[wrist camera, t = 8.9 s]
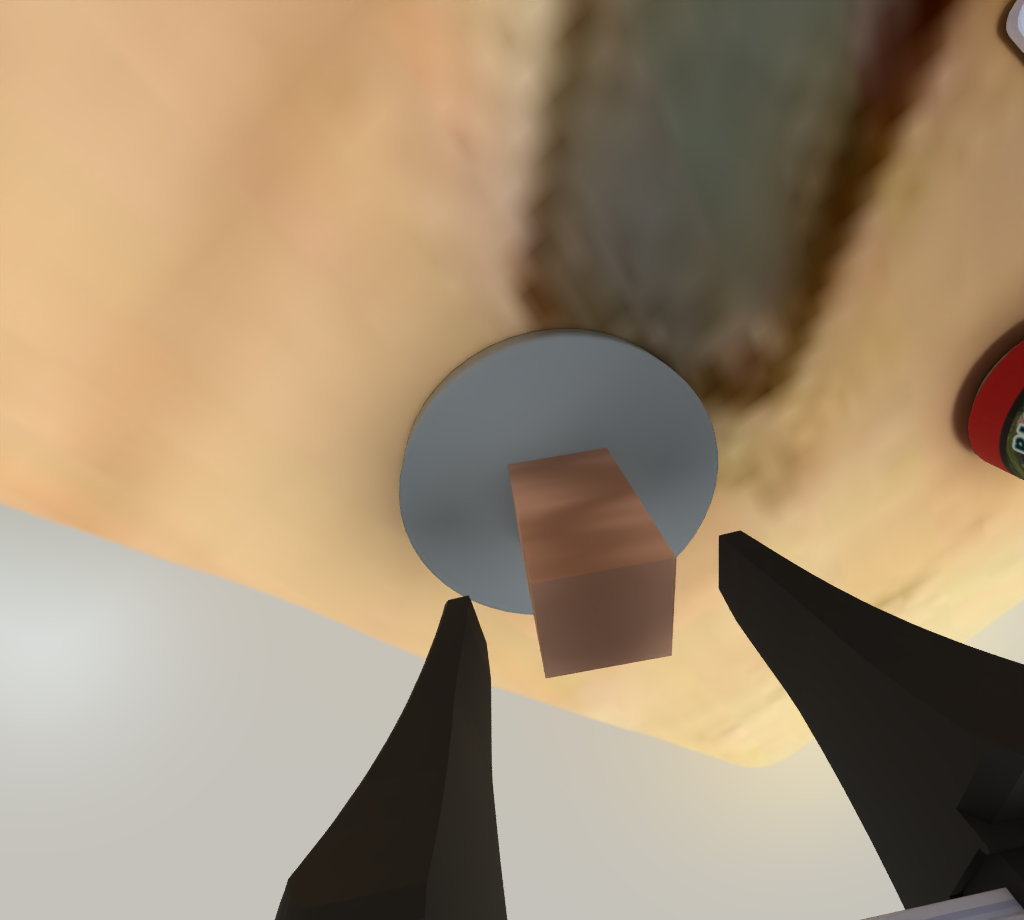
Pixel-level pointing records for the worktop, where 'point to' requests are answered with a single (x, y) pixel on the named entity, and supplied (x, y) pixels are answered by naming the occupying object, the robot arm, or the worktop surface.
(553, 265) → the worktop surface
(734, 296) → the worktop surface
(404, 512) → the slate base plate
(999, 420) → the beverage can
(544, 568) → the terracotta block
